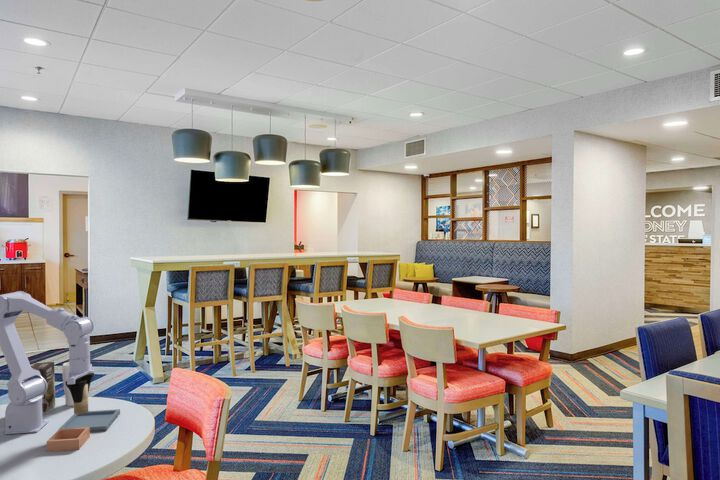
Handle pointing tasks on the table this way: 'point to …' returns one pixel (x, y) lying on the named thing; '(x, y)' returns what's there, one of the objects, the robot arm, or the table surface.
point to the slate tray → (92, 420)
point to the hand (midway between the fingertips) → (80, 399)
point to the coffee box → (49, 375)
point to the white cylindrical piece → (67, 392)
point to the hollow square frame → (68, 439)
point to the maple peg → (82, 403)
